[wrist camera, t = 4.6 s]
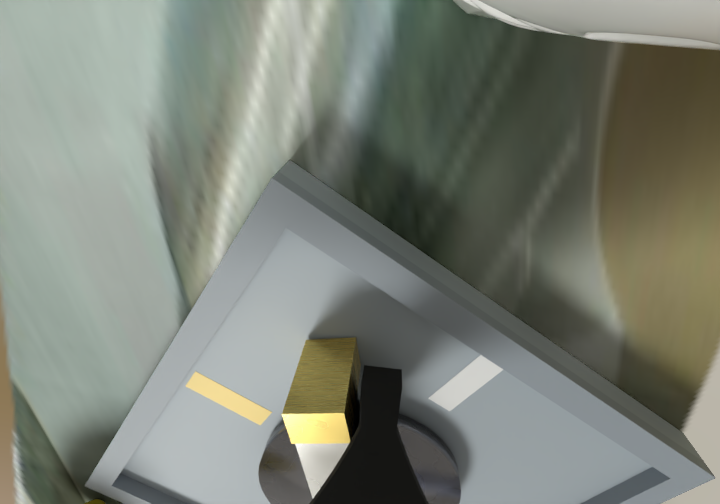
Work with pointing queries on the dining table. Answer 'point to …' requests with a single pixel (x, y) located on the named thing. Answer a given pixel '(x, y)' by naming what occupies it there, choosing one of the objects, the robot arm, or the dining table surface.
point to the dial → (340, 431)
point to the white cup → (612, 19)
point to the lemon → (96, 502)
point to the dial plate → (381, 349)
